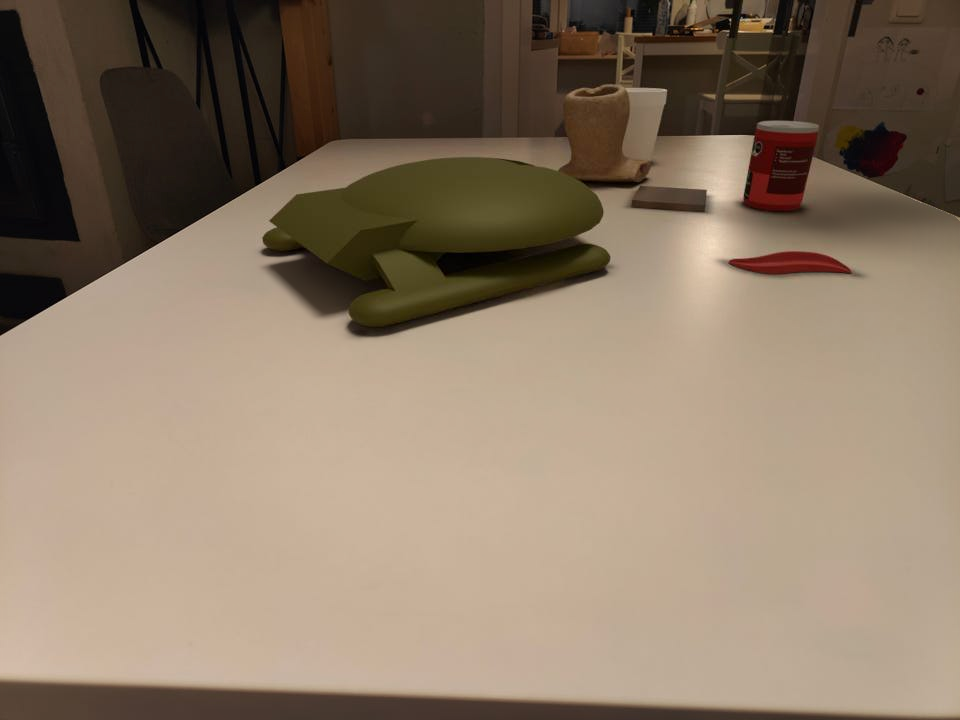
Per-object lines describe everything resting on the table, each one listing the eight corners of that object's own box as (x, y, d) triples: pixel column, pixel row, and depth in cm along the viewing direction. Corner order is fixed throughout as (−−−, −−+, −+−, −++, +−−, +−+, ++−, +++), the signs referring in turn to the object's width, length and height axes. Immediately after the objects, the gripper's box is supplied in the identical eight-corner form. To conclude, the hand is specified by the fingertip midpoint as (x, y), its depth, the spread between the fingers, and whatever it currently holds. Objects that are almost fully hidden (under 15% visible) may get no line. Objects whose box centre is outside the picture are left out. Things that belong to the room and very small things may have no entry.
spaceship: (364, 340, 51) (351, 222, 46) (258, 247, 73) (242, 162, 69) (658, 260, 67) (670, 168, 63) (498, 205, 90) (498, 134, 86)
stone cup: (549, 186, 101) (553, 87, 94) (564, 172, 111) (569, 82, 104) (643, 192, 97) (655, 88, 90) (650, 177, 107) (661, 83, 100)
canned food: (758, 195, 94) (773, 119, 89) (811, 205, 88) (830, 124, 83) (731, 204, 89) (745, 123, 84) (784, 214, 84) (803, 129, 79)
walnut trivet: (706, 196, 94) (707, 189, 94) (704, 212, 86) (705, 204, 85) (639, 192, 97) (640, 185, 97) (631, 206, 89) (632, 199, 88)
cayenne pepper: (726, 268, 65) (729, 251, 64) (729, 255, 69) (732, 239, 68) (855, 283, 61) (860, 264, 60) (850, 268, 64) (855, 251, 64)
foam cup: (598, 161, 121) (604, 89, 115) (635, 157, 125) (643, 87, 119) (630, 169, 113) (638, 92, 107) (668, 164, 117) (678, 90, 111)
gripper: (708, -172, 70) (682, 38, 80) (976, -211, 60) (908, 36, 70) (719, -156, 76) (693, 38, 86) (964, -189, 65) (902, 36, 75)
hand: (789, 38), depth 78 cm, fingers open, 13 cm apart
